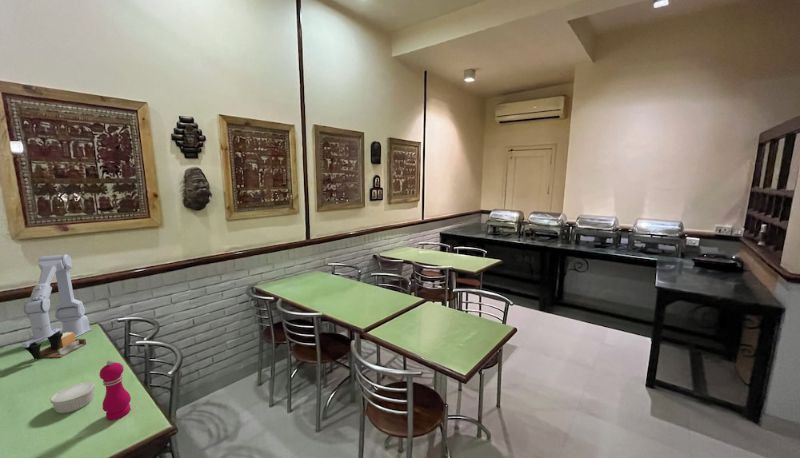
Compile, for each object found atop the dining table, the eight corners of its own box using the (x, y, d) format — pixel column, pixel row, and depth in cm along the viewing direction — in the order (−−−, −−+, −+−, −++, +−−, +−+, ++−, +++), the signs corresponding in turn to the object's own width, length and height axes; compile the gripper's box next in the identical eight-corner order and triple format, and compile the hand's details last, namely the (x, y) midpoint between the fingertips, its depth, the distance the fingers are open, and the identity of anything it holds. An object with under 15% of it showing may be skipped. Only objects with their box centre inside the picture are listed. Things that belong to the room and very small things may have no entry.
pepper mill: (99, 419, 107) (89, 364, 104) (123, 404, 114) (114, 352, 111) (114, 423, 105) (104, 367, 102) (137, 408, 112) (129, 355, 109)
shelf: (66, 344, 157) (65, 339, 157) (86, 344, 157) (85, 338, 157) (38, 357, 145) (37, 352, 145) (60, 357, 145) (59, 351, 145)
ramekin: (64, 398, 118) (62, 385, 117) (103, 391, 122) (100, 378, 121) (44, 419, 107) (41, 405, 107) (86, 410, 111) (84, 397, 110)
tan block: (68, 344, 156) (66, 332, 155) (76, 344, 156) (74, 332, 155) (55, 350, 150) (52, 338, 149) (63, 350, 150) (61, 338, 149)
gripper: (49, 318, 150) (54, 345, 152) (12, 333, 135) (18, 363, 137) (64, 318, 150) (69, 345, 152) (29, 333, 135) (35, 363, 137)
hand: (46, 354), depth 145 cm, fingers open, 7 cm apart
